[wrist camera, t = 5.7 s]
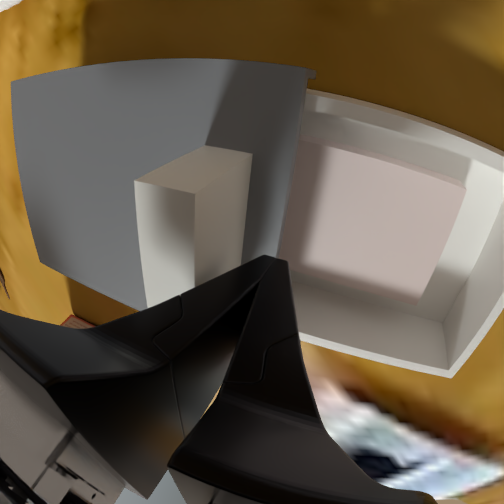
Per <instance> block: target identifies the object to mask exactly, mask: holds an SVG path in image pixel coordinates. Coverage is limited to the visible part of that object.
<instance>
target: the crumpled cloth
mask: <svg viewBox="0 0 504 504" xmlns="http://www.w3.org/2000/svg"><path fill="white" fill-rule="evenodd" d="M21 1H22V0H0V12H1V11H3V10H7V9H9V8H11V7H12V6H14V5H16V4H18V3H20V2H21Z"/></svg>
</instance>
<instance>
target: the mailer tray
mask: <svg viewBox="0 0 504 504" xmlns="http://www.w3.org/2000/svg"><path fill="white" fill-rule="evenodd" d="M279 259H283V260H286V261H288V263H289V269H290V275H291V282H292V288H293V295H294V302H295V309H296V316H297V323H298V330H299V337H300V340H301V341H304V342H308V343H311V344H315V345H318V346H322V347H325V348H329V349H332V350H336V351H339V352H343V353H347V354H350V355H354V356H358V357H362V358H366V359H369V360H373V361H377V362H381V363H385V364H389V365H394V366H398V367H402V368H406V369H411V370H415V371H419V372H424V373H428V374H433V375H438V376H443V377H448V378H452V377H453V376H454V375H455V374H456V372H457V371H458V370H459V369H460V368H461V366H462V365H463V364H464V363H465V361H466V360H467V359H468V358H469V356H470V355H471V354H472V352H473V351H474V350H475V348H476V347H477V346H478V344H479V343H480V342H481V340H482V339H483V338H484V336H485V335H486V333H487V332H488V331H489V329H490V328H491V326H492V325H493V323H494V322H495V320H496V319H497V317H498V316H499V314H500V313H501V311H502V310H503V308H504V151H502V150H500V149H497V148H495V147H493V146H491V145H489V144H487V143H484V142H482V141H480V140H478V139H475V138H473V137H471V136H468V135H466V134H463V133H461V132H458V131H456V130H453V129H451V128H448V127H446V126H443V125H440V124H437V123H435V122H432V121H429V120H426V119H423V118H420V117H417V116H414V115H411V114H408V113H405V112H402V111H398V110H395V109H392V108H388V107H385V106H381V105H378V104H374V103H370V102H366V101H362V100H358V99H354V98H350V97H346V96H341V95H337V94H332V93H327V92H322V91H317V90H312V89H307V90H306V97H305V104H304V110H303V117H302V124H301V130H300V136H299V143H298V149H297V155H296V161H295V167H294V174H293V180H292V185H291V191H290V197H289V203H288V209H287V215H286V220H285V226H284V232H283V237H282V243H281V248H280V254H279Z"/></svg>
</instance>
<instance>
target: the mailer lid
mask: <svg viewBox="0 0 504 504" xmlns="http://www.w3.org/2000/svg"><path fill="white" fill-rule="evenodd" d="M308 78H309V79H315V78H316V71H315V70H312V69H308V68H304V67H298V66H291V65H283V64H275V63H266V62H256V61H244V60H229V59H203V58H173V59H147V60H133V61H121V62H111V63H103V64H95V65H88V66H81V67H75V68H69V69H64V70H58V71H53V72H49V73H44V74H39V75H35V76H31V77H27V78H23V79H19V80H15V81H12V82H11V100H12V117H13V129H14V139H15V148H16V155H17V162H18V169H19V175H20V181H21V186H22V191H23V197H24V201H25V206H26V210H27V215H28V219H29V223H30V227H31V231H32V235H33V239H34V242H35V246H36V249H37V253H38V256H39V259H40V262H41V263H43V264H45V265H46V266H48V267H50V268H52V269H54V270H56V271H58V272H60V273H61V274H63V275H65V276H67V277H69V278H71V279H73V280H75V281H77V282H79V283H81V284H83V285H85V286H87V287H89V288H91V289H93V290H95V291H97V292H99V293H102V294H104V295H106V296H108V297H110V298H112V299H114V300H117V301H119V302H121V303H123V304H125V305H127V306H130V307H132V308H134V309H136V310H139V311H142V310H144V309H147V308H150V307H152V306H155V305H157V304H159V303H162V302H164V301H166V300H168V299H171V298H173V297H175V296H177V295H180V294H181V293H184V292H186V291H188V290H190V289H192V288H194V287H196V286H198V285H200V284H203V283H205V282H207V281H209V280H211V279H213V278H215V277H217V276H219V275H221V274H224V273H226V272H228V271H230V270H232V269H234V268H236V267H238V266H240V265H242V264H245V263H247V262H249V261H251V260H253V259H255V258H257V257H259V256H261V255H264V254H265V255H269V256H272V257H275V258H279V254H280V248H281V243H282V237H283V232H284V226H285V220H286V215H287V209H288V203H289V197H290V191H291V185H292V180H293V174H294V167H295V161H296V155H297V149H298V143H299V136H300V130H301V124H302V117H303V110H304V104H305V97H306V90H307V83H308Z"/></svg>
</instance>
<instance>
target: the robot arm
mask: <svg viewBox="0 0 504 504" xmlns="http://www.w3.org/2000/svg"><path fill="white" fill-rule="evenodd" d="M221 384H222V385H221ZM220 386H221V388H220ZM219 388H220V390H219V393H218V395H217V397H216V399H215V401H214V402H213V403H212V405H211V406H210V407H209V409H208V410H207V411H206V412H205V410H206V409H207V407H208V406H209V404H210V402H211V401H212V399H213V397H214V396H215V394H216V393H217V391H218V389H219ZM204 412H205V414H204ZM203 414H204V415H203ZM202 415H203V416H202ZM201 417H202V418H201ZM200 418H201V419H200ZM167 470H169V472H170V474H171V476H172V478H173V479H174V481H175V483H176V485H177V487H178V489H179V491H180V493H181V494H182V496H183V498H184V500H185V501H186V503H187V504H438V503H437V502H436V501H435V499H434V498H433V497H432V496H431V495H429V494H427V493H424V492H421V491H413V490H401V489H394V488H389V487H387V486H384V485H381V484H379V483H378V482H376V481H374V480H372V479H371V478H370V477H369V476H368V475H366V474H365V473H364V472H363V470H362V469H361V468H360V467H359V466H358V465H357V464H356V463H355V462H354V461H353V460H352V459H351V458H350V457H349V456H348V455H347V454H346V453H345V452H344V451H343V450H342V449H341V448H340V446H339V445H338V444H337V443H336V442H335V441H334V440H333V439H332V438H331V437H330V436H329V434H328V433H327V431H326V429H325V428H324V425H323V423H322V421H321V418H320V415H319V412H318V408H317V405H316V402H315V399H314V395H313V392H312V389H311V386H310V382H309V379H308V376H307V372H306V368H305V364H304V361H303V355H302V350H301V344H300V337H299V330H298V323H297V316H296V309H295V302H294V295H293V288H292V282H291V275H290V269H289V263H288V261H286V260H283V259H279V258H275V257H272V256H269V255H265V254H264V255H261V256H259V257H257V258H255V259H253V260H251V261H249V262H247V263H245V264H242V265H240V266H238V267H236V268H234V269H232V270H230V271H228V272H226V273H224V274H221V275H219V276H217V277H215V278H213V279H211V280H209V281H207V282H205V283H203V284H200V285H198V286H196V287H194V288H192V289H190V290H188V291H186V292H184V293H181V294H180V295H177V296H175V297H173V298H171V299H168V300H166V301H164V302H162V303H159V304H157V305H155V306H152V307H150V308H147V309H144V310H142V311H139V312H136V313H134V314H131V315H128V316H125V317H122V318H119V319H116V320H113V321H111V322H108V323H105V324H102V325H99V326H95V327H91V328H84V329H77V328H69V327H64V326H60V325H55V324H51V323H46V322H42V321H37V320H33V319H29V318H25V317H21V316H17V315H14V314H10V313H7V312H5V311H2V310H0V504H29V502H28V501H27V499H29V500H31V501H32V502H33V503H34V504H114V503H115V502H116V500H117V498H118V497H119V495H120V494H121V492H122V491H123V489H124V488H127V489H128V490H130V491H132V492H134V493H136V494H137V495H139V496H141V497H143V498H145V499H148V498H149V497H150V495H151V494H152V492H153V491H154V489H155V488H156V486H157V485H158V483H159V482H160V480H161V479H162V477H163V476H164V474H165V473H166V471H167Z"/></svg>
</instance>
